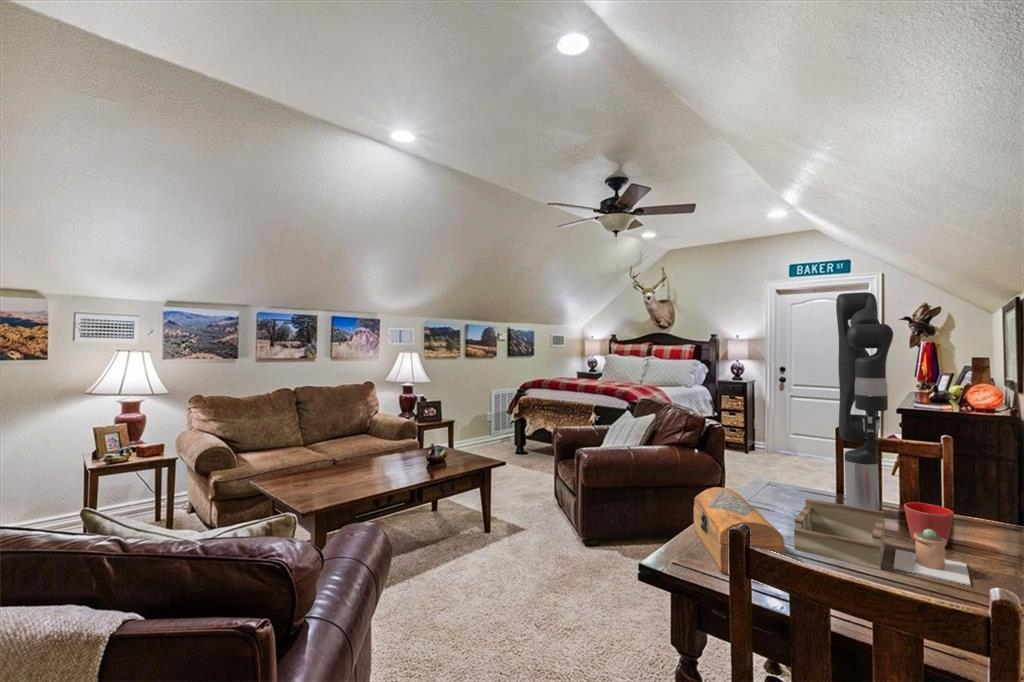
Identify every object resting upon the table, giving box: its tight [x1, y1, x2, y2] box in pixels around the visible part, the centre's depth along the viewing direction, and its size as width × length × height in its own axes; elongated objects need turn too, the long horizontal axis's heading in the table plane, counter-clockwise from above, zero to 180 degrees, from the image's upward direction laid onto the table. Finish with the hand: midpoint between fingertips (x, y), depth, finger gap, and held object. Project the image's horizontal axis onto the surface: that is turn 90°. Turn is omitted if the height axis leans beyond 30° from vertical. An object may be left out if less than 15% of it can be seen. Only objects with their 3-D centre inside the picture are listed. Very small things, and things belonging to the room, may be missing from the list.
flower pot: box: [903, 501, 954, 547], centre depth 136 cm, size 11×11×10 cm
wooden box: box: [693, 486, 786, 576], centre depth 131 cm, size 30×16×14 cm, turn 170°
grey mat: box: [893, 548, 971, 587], centre depth 120 cm, size 14×14×1 cm
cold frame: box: [793, 497, 886, 570], centre depth 133 cm, size 19×19×10 cm
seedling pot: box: [914, 529, 946, 570], centre depth 121 cm, size 6×6×9 cm
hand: (872, 449), depth 136 cm, fingers open, 8 cm apart
